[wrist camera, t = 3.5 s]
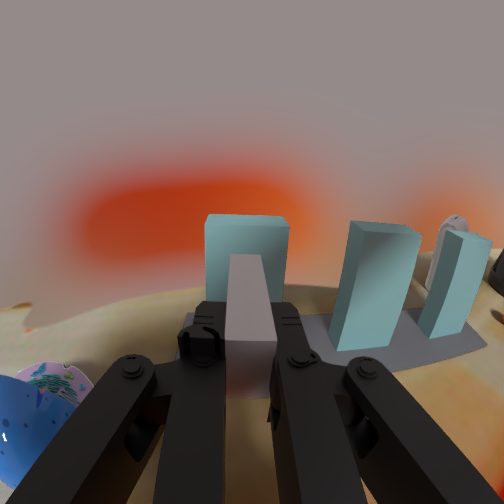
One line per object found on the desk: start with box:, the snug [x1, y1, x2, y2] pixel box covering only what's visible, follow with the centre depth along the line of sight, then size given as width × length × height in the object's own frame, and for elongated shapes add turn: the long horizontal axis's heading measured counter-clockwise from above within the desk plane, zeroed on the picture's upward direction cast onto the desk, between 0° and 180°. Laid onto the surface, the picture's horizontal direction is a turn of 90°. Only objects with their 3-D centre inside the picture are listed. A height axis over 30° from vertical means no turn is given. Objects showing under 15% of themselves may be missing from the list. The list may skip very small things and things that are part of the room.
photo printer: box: [425, 215, 468, 291], centre depth 36 cm, size 10×4×12 cm, turn 124°
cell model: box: [0, 361, 94, 490], centre depth 10 cm, size 10×12×10 cm
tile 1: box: [417, 229, 493, 339], centre depth 24 cm, size 6×3×12 cm, turn 92°
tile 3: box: [205, 214, 290, 302], centre depth 23 cm, size 6×3×12 cm, turn 92°
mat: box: [175, 308, 487, 372], centre depth 26 cm, size 36×10×1 cm, turn 92°
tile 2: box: [328, 221, 422, 351], centre depth 24 cm, size 6×3×12 cm, turn 92°
